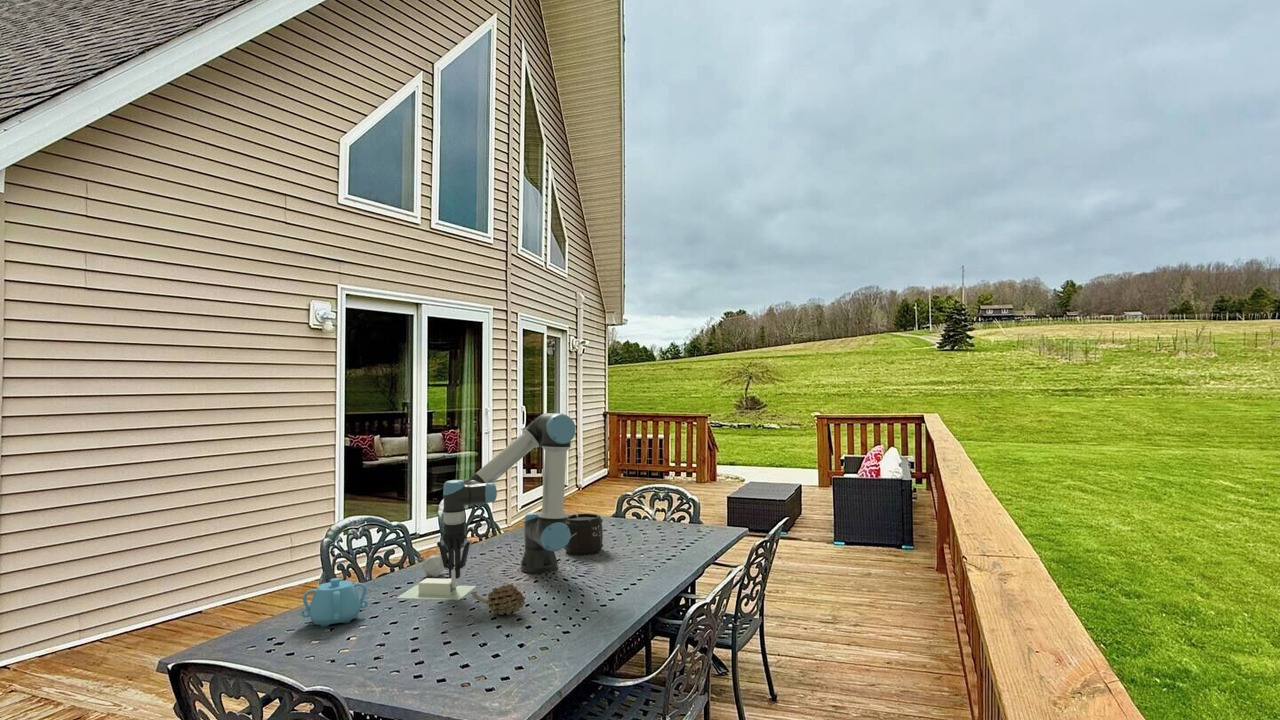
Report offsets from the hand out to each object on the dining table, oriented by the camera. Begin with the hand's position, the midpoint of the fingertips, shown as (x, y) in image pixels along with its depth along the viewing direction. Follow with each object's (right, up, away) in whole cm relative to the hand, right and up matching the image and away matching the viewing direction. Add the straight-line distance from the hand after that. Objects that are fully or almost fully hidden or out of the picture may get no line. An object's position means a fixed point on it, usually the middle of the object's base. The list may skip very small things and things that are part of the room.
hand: (454, 586), depth 245 cm
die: (-15, -4, +23) cm, 28 cm away
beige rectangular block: (-1, 0, 0) cm, 1 cm away
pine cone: (+20, -1, -23) cm, 31 cm away
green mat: (-7, -2, +1) cm, 7 cm away
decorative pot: (-32, -2, -27) cm, 42 cm away
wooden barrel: (+42, -4, +58) cm, 72 cm away
